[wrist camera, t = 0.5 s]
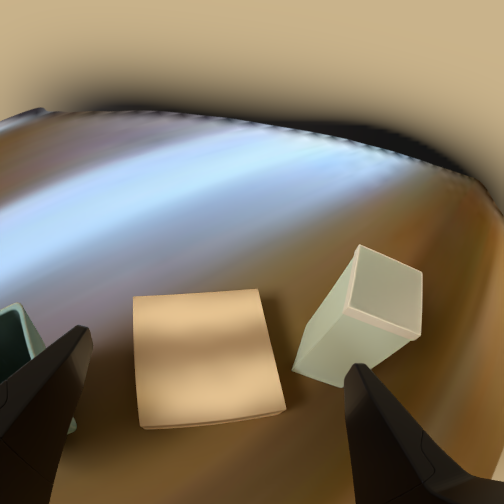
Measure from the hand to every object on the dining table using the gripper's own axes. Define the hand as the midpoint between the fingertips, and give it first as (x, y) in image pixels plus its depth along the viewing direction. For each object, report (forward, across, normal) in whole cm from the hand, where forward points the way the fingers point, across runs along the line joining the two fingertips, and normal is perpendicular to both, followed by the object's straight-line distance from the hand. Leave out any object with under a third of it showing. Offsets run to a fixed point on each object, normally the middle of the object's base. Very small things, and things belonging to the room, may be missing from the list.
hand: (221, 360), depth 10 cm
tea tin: (+12, -10, +13) cm, 20 cm away
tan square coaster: (+11, +1, +14) cm, 18 cm away
